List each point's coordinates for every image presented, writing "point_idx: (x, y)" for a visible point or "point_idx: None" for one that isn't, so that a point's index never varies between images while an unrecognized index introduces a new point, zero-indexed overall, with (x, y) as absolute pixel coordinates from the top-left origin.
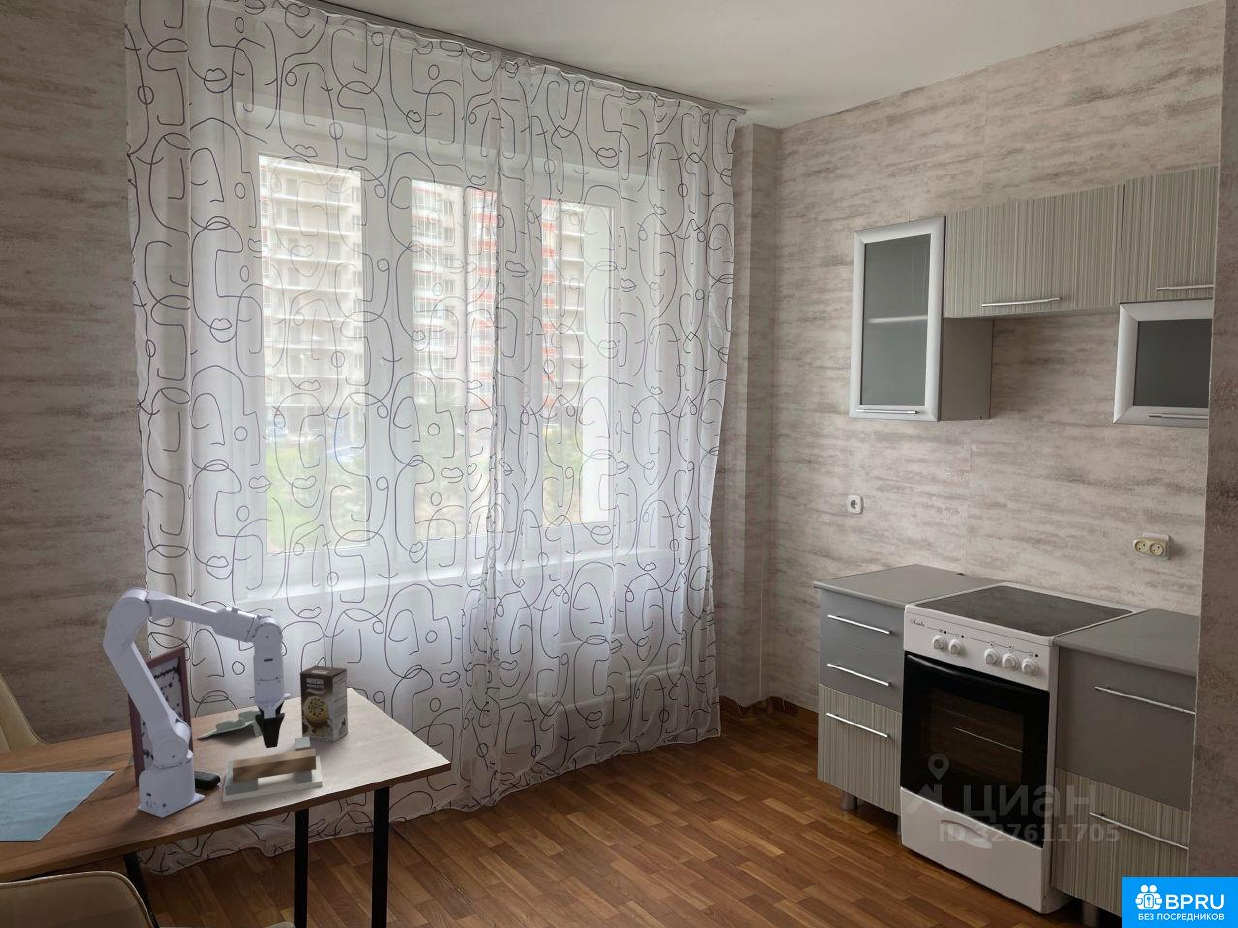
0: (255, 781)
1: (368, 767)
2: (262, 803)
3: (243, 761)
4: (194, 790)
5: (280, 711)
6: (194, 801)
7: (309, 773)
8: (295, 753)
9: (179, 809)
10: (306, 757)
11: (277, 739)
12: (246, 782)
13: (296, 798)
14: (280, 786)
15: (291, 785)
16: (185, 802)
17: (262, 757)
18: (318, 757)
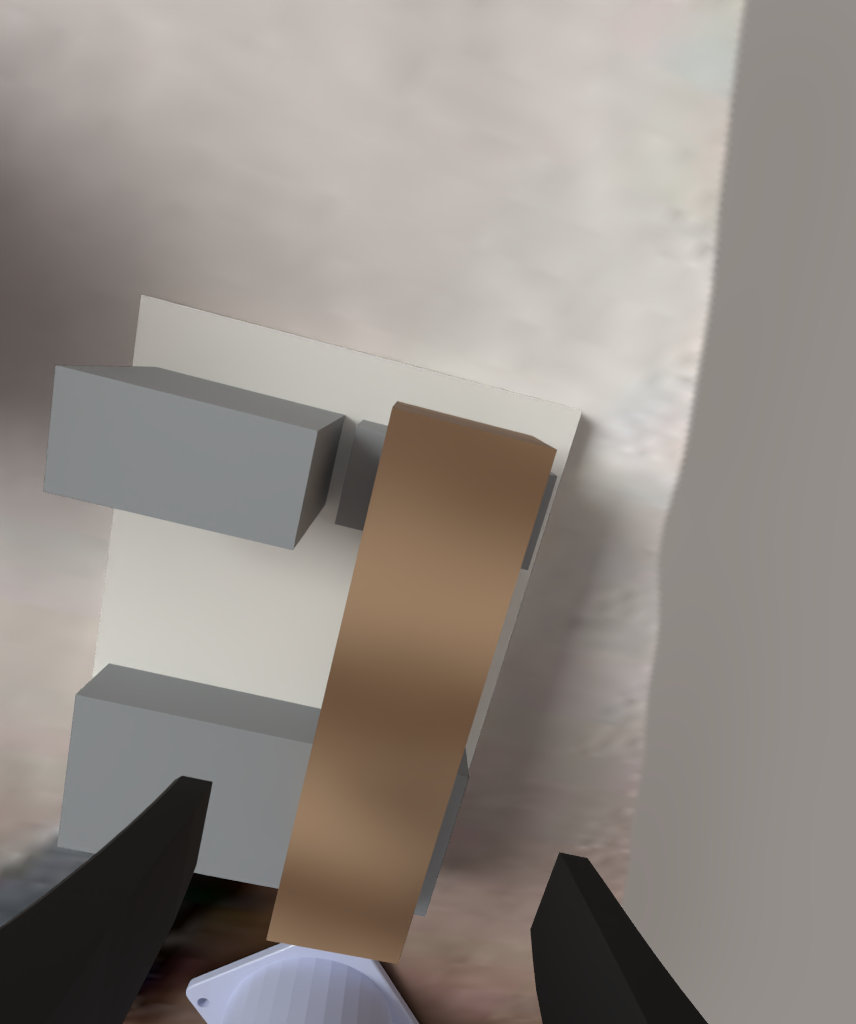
0: (466, 785)
1: (491, 27)
2: (573, 725)
3: (323, 896)
4: (329, 998)
5: (60, 997)
6: (376, 965)
7: (549, 489)
8: (399, 575)
9: (411, 1012)
10: (533, 522)
11: (634, 928)
12: (450, 826)
13: (635, 576)
14: None
15: (517, 580)
16: (384, 1006)
17: (327, 787)
18: (175, 311)
